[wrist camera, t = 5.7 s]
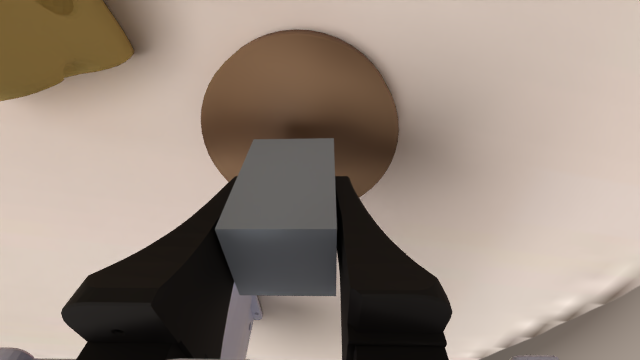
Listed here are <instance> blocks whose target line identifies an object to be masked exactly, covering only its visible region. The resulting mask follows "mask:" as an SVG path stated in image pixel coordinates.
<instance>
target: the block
mask: <svg viewBox="0 0 640 360" xmlns="http://www.w3.org/2000/svg"><path fill="white" fill-rule="evenodd" d="M215 231H216V234H217V237H218V239H219V242H220V245H221V247H222V250H223V253H224V255H225V258H226V261H227V263H228V266H229V269H230V271H231V274H232V277H233V279H234V282H235V285H236V287H237V290H238V292H239V295H267V296H336V257H337V218H336V189H335V160H334V138H316V139H254V140H253V142H252V144H251V147H250V149H249V151H248V153H247V156H246V158H245V160H244V163H243V165H242V167H241V170H240V172H239V174H238V177H237V179H236V181H235V183H234V186H233V188H232V190H231V193H230V195H229V197H228V200H227V202H226V204H225V207H224V209H223V211H222V214H221V216H220V218H219V220H218V223H217V225H216V227H215Z"/></svg>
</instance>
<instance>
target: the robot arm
mask: <svg viewBox="0 0 640 360" xmlns="http://www.w3.org/2000/svg"><path fill="white" fill-rule="evenodd" d="M237 177H238V176H235V177H234V178H233V179H232V180H231V181H230V182H229V183H228V184H227V185H226V186H224V187H223V188H222V189H221V190H220V191H219V192H218V193H217V194H216V195H215V196H214V197H213V198H212V199H211V200H210V201H209V202H208V203H207V204H206V205H204V206H203V207H202V208H201V209H200V210H199V211H197V212H196V213H195V214H194V215H193V216H192V217H190V218H189V219H188V220H187V221H185V222H184V223H183V224H181V225H180V226H178V227H177V228H176V229H174V230H173V231H171V232H170V233H168V234H167V235H165V236H164V237H162V238H160V239H159V240H157V241H156V242H154V243H152V244H151V245H149V246H148V247H146V248H144V249H142V250H140V251H139V252H137V253H135V254H133V255H131V256H129V257H127V258H125V259H123V260H121V261H119V262H117V263H115V264H113V265H111V266H108V267H106V268H104V269H102V270H100V271H98V272H95V273H93V274H91V275H89V276H88V277H87V278H86V279H85V280H84V282H83V283H82V284H81V286H80V287H79V288H78V289H77V291H76V292H75V293H74V295H73V296H72V297H71V298H70V300H69V301H68V302H67V304H66V305H65V306H64V308H63V309H62V312H61V314H62V317H63V320H64V322H65V323H66V324H67V325H68V326H69V327H71V328H72V329H73V330H74V331H75V332H76V333H78V334H79V335H80V336H81V337H82V338H84V339H85V340H86V341H87V344H86V345H85V347H84V348H83V350H82V351H81V353H80V354H79V356H78V358H77V359H38V358H34V357H33V356H32V355H31V354H30V353H28V352H26V351H24V350H21V349H18V348H0V360H248V359H246V354H247V349H248V344H249V339H250V335H251V330H252V325H253V320H260V319H262V316H263V315H262V311H261V308H260V304H259V301H258V297H257V295H239V292H238V290H237V287H236V285H235V282H234V279H233V277H232V274H231V271H230V269H229V266H228V263H227V261H226V258H225V255H224V253H223V250H222V247H221V245H220V242H219V239H218V237H217V234H216V231H215V227H216V225H217V223H218V220H219V218H220V216H221V214H222V211H223V209H224V207H225V204H226V202H227V200H228V197H229V195H230V193H231V190H232V188H233V186H234V183H235V181H236V179H237ZM335 189H336V218H337V254H338V262H339V270H340V292H341V327H342V360H449V359H448V356H447V353H446V349H445V347H446V345H447V342H446V339H445V336H444V333H443V331H444V329H445V327H446V325H447V324H448V322H449V320H450V318H451V315H452V309H451V306H450V302H449V300H448V298H447V295H446V293H445V291H444V289H443V288H442V286H441V284H440V282H439V280H438V279H437V278H436V277H435V276H434V275H432V274H431V273H429V272H428V271H427V270H425V269H424V268H422V267H421V266H420V265H418V264H417V263H416V262H414V261H413V260H412V259H411V258H410V257H408V256H407V255H406V254H405V253H404V252H403V251H402V250H401V249H400V248H399V247H398V246H397V245H395V244H394V243H393V242H392V241H391V240H390V239H389V237H388V236H387V235H386V234H385V233H384V232H383V231H382V230H381V229H380V227H379V226H378V225H377V224H376V222H375V221H374V220H373V218H372V217H371V216H370V214H369V213H368V212H367V210H366V209H365V207H364V205H363V204H362V202H361V201H360V199H359V197H358V195H357V194H356V192H355V190H354V188H353V186H352V183H351V181H350V178H349V177H348V176H335ZM509 360H559V359H558V358H557V357H555V356H551V355H548V356H547V355H519V356H515V357H512V358H511V359H509Z"/></svg>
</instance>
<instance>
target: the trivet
mask: <svg viewBox="0 0 640 360" xmlns="http://www.w3.org/2000/svg"><path fill="white" fill-rule="evenodd" d="M201 127H202V134H203V139H204V143H205V146H206V148H207V151H208V153H209V155H210V157H211V159H212V161H213V163H214V164H215V166H216V167H217V169H218V170H219V172H220V173H221V174H222V175H223V176H224V177H225V179H226V180H227V181H228V182H230V181H231V180H232V179H233V178H234V177H235V176H238V174H239V172H240V170H241V167H242V165H243V163H244V160H245V158H246V156H247V153H248V151H249V149H250V147H251V144H252V142H253V140H254V139H316V138H334V160H335V176H348V177H349V178H350V181H351V183H352V186H353V188H354V190H355V192H356V194H357V195H358V197H360V196H362V195H364V194H365V193H366V192H367V191H369V190H370V189H371V188H372V187H373V186H374V185H375V184H376V183H377V182H378V181H379V180H380V179H381V177H382V176H383V175H384V173H385V172H386V170H387V168H388V167H389V165H390V163H391V161H392V158H393V156H394V153H395V150H396V146H397V142H398V132H399V128H398V116H397V111H396V106H395V104H394V101H393V98H392V95H391V93H390V91H389V89H388V87H387V85H386V83H385V82H384V80H383V78H382V76H381V74H380V73H379V71H378V70H377V69H376V68H375V66H374V65H373V64H372V62H371V61H370V60H368V59H367V58H366V57H365V56H364V55H363V54H362V53H361V52H360V51H358V50H357V49H356V48H354V47H353V46H352V45H350V44H348V43H346V42H344V41H342V40H340V39H339V38H336V37H333V36H330V35H328V34H325V33H320V32H315V31H310V30H286V31H279V32H275V33H270V34H267V35H264V36H262V37H259V38H257V39H255V40H253V41H251V42H249V43H248V44H246V45H245V46H243V47H242V48H240V49H239V50H238V51H237V52H236V53H235V54H233V55H232V56H231V57H230V58H229V59H228V60H227V61H226V62H225V63H224V64H223V65H222V66H221V67H220V69H219V70H218V71H217V72H216V73H215V75H214V77H213V78H212V80H211V82H210V83H209V85H208V88H207V90H206V93H205V96H204V100H203V104H202V110H201Z"/></svg>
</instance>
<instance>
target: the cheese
mask: <svg viewBox="0 0 640 360" xmlns="http://www.w3.org/2000/svg"><path fill="white" fill-rule="evenodd" d="M133 53H134V50H133V48H132V46H131V44H130V42H129V40H128V38H127V37H126V35H125V33H124V32H123V30H122V29H121V27H120V26H119V24H118V23H117V21H116V20H115V18H114V17H113V15H112V14H111V12H110V11H109V9H108V8H107V6H106V5H105V3H104V2H103V0H0V101H4V100H9V99H14V98H19V97H23V96H27V95H30V94H33V93H37V92H39V91H42V90H45V89H47V88H50V87H52V86H54V85H56V84H58V83H60V82H62V81H63V80H64V78H65V77H69V76H74V75H78V74H83V73H89V72H96V71H101V70H105V69H109V68H112V67H115V66H118V65H120V64H122V63H124V62H126V61H127V60H128V59H129V58H131V56H132V55H133Z"/></svg>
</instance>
